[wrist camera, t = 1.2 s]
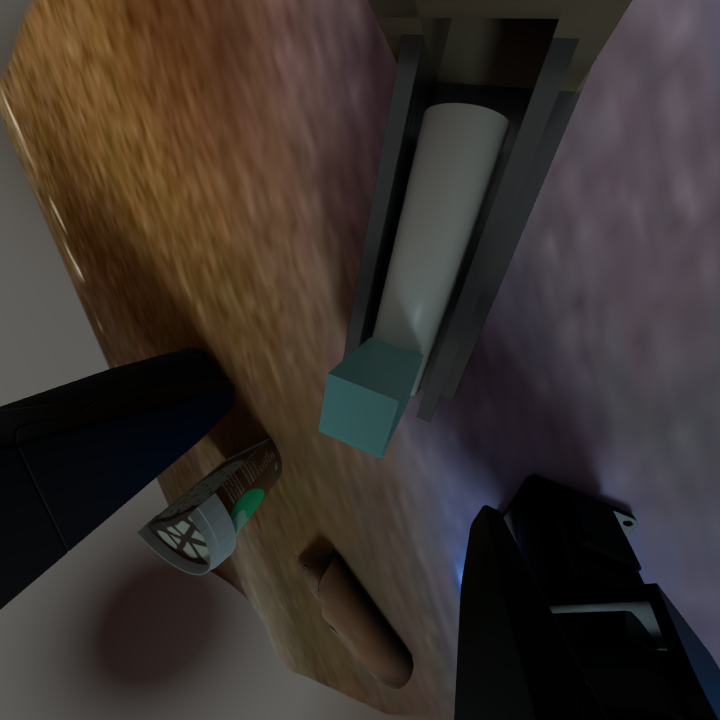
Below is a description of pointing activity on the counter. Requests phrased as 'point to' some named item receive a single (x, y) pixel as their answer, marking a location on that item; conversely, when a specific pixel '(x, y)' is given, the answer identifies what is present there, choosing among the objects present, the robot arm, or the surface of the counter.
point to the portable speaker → (130, 379)
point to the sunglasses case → (355, 619)
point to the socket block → (501, 36)
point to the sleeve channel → (500, 209)
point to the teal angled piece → (417, 274)
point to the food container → (214, 510)
